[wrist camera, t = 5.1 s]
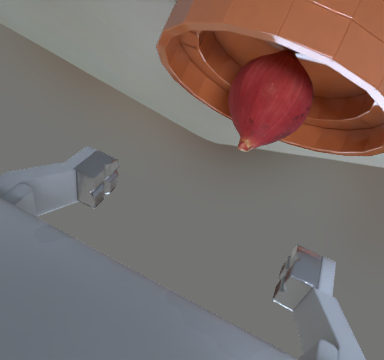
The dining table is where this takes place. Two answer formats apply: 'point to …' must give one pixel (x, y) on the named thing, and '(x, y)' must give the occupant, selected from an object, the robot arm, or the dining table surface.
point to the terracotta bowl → (305, 52)
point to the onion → (269, 99)
